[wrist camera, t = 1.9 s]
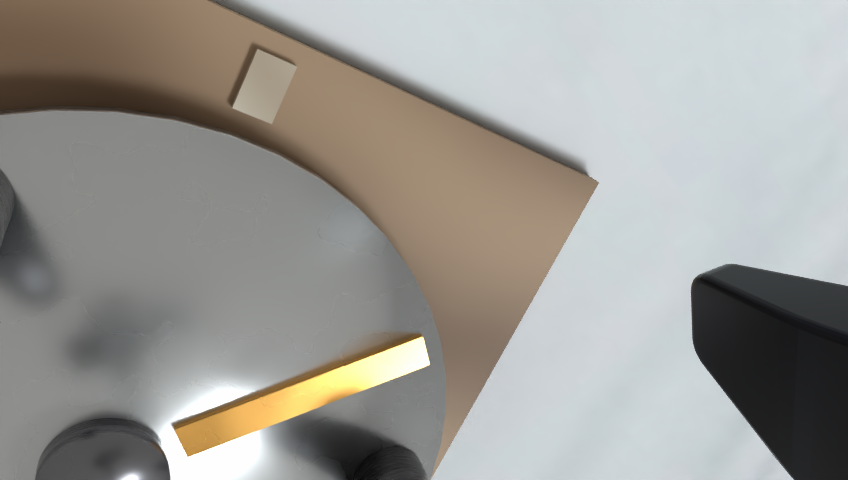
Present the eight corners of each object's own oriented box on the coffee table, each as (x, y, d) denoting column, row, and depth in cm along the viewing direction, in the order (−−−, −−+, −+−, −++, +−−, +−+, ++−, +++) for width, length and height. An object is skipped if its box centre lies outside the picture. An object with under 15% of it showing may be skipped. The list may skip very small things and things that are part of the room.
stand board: (280, 727, 28) (283, 745, 28) (-460, 718, 19) (-477, 743, 19) (590, 176, 23) (601, 184, 22) (-235, -208, 14) (-251, -212, 13)
